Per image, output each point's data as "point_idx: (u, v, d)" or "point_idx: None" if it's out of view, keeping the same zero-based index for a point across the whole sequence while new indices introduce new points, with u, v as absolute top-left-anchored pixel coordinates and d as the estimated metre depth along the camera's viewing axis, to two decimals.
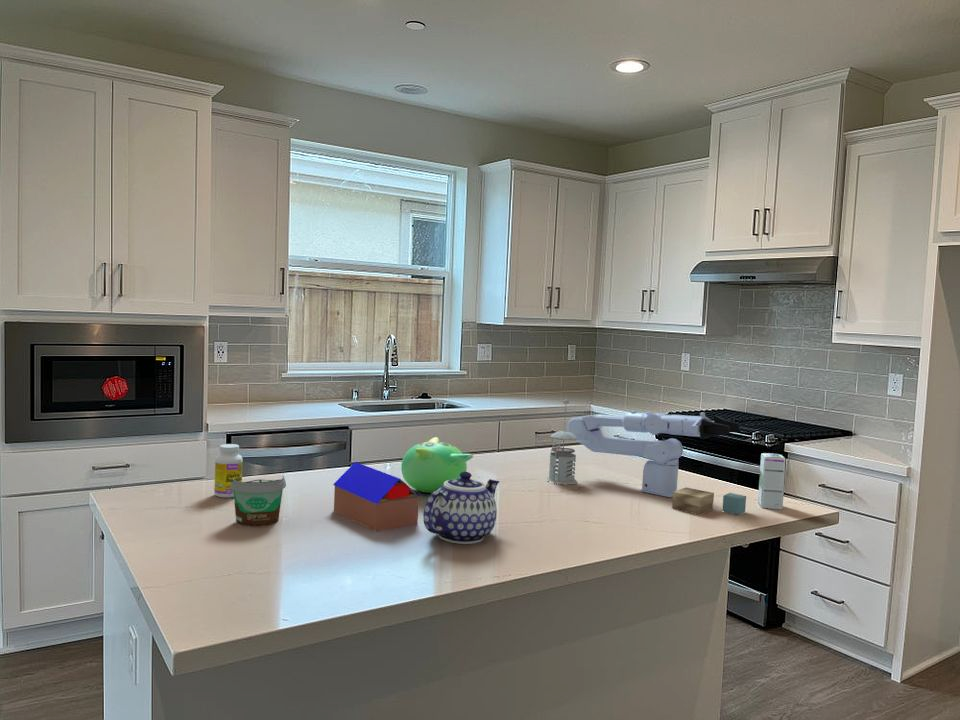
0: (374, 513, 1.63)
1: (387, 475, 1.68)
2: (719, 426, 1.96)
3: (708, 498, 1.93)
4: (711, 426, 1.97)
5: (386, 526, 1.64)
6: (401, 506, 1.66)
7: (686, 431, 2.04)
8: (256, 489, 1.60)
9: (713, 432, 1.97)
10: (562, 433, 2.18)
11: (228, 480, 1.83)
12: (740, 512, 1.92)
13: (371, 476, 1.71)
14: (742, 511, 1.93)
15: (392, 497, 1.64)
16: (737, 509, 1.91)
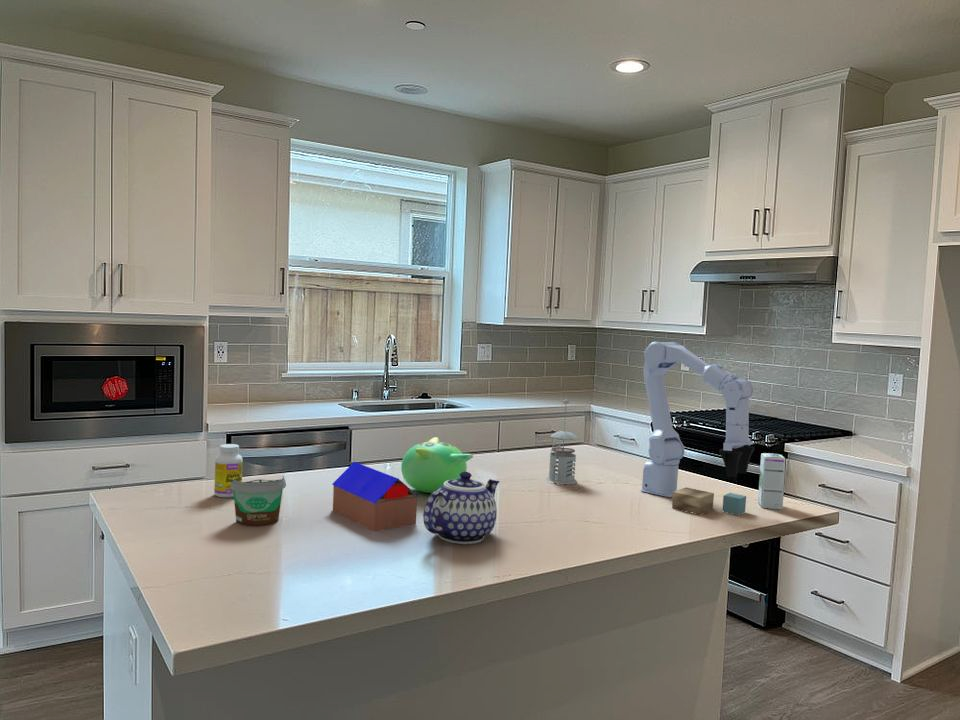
0: (372, 513, 1.63)
1: (385, 475, 1.68)
2: (734, 468, 1.90)
3: (708, 498, 1.93)
4: (733, 459, 1.90)
5: (384, 526, 1.64)
6: (399, 506, 1.66)
7: (728, 428, 1.92)
8: (256, 489, 1.60)
9: (727, 461, 1.91)
10: (562, 433, 2.18)
11: (228, 480, 1.83)
12: (740, 512, 1.92)
13: (370, 476, 1.71)
14: (742, 511, 1.93)
15: (390, 497, 1.64)
16: (737, 509, 1.91)
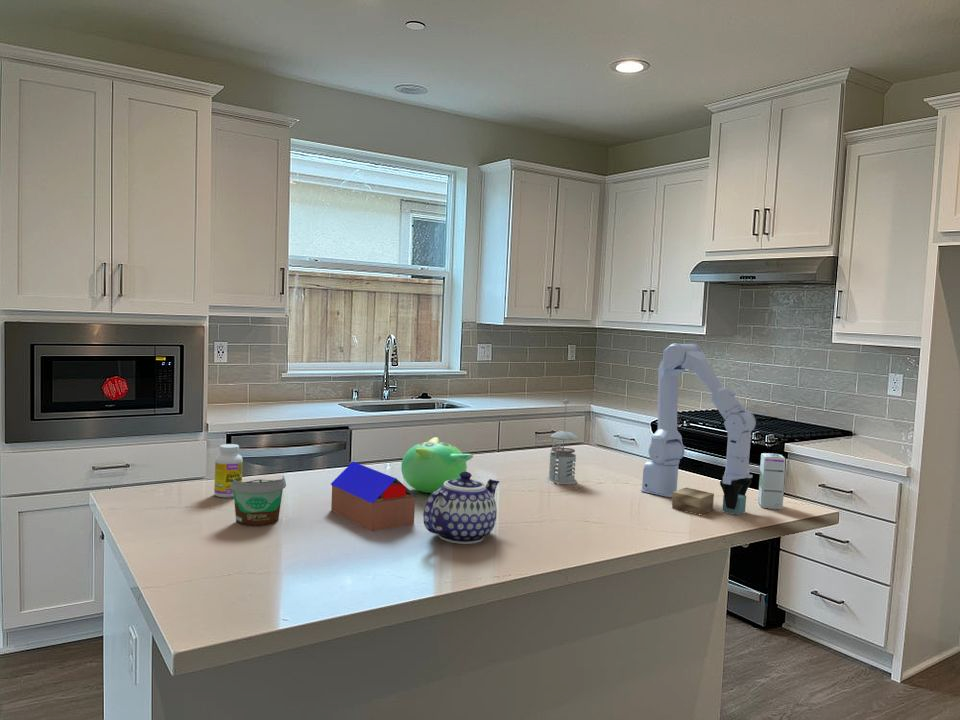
0: (370, 513, 1.63)
1: (384, 475, 1.69)
2: (733, 500, 1.91)
3: (707, 499, 1.93)
4: (734, 492, 1.91)
5: (382, 526, 1.64)
6: (397, 506, 1.66)
7: (729, 460, 1.92)
8: (256, 489, 1.60)
9: (727, 492, 1.92)
10: (562, 433, 2.18)
11: (228, 480, 1.83)
12: (740, 511, 1.92)
13: (368, 476, 1.71)
14: (742, 511, 1.93)
15: (388, 497, 1.64)
16: (737, 508, 1.91)
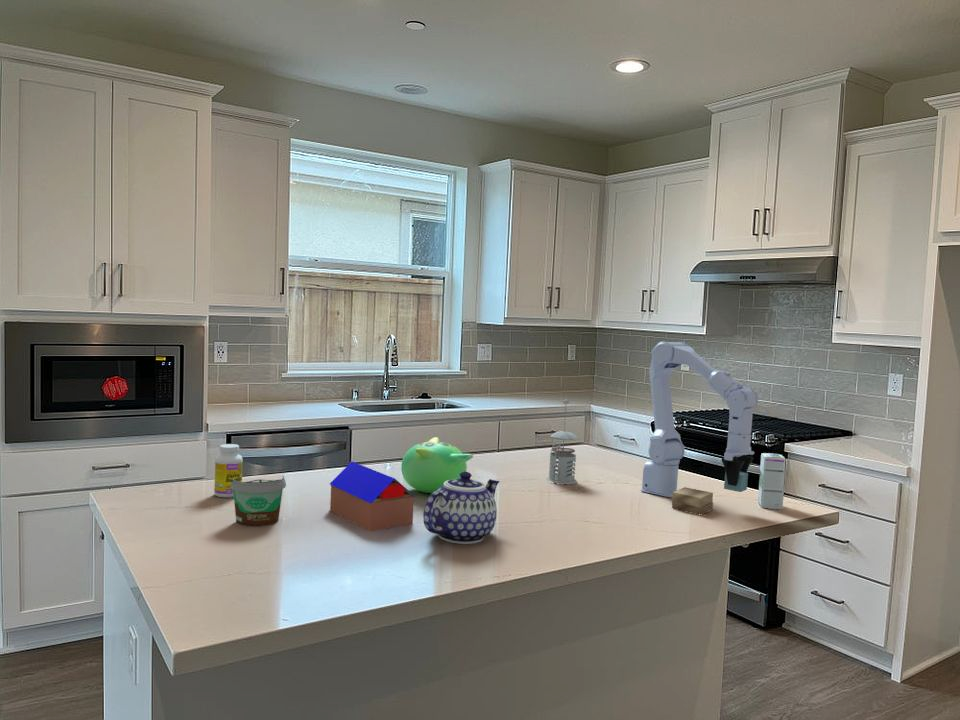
0: (368, 513, 1.63)
1: (382, 475, 1.69)
2: (735, 477, 1.91)
3: (707, 498, 1.93)
4: (735, 468, 1.91)
5: (381, 526, 1.64)
6: (395, 506, 1.66)
7: (730, 437, 1.92)
8: (256, 489, 1.60)
9: (729, 469, 1.92)
10: (562, 433, 2.18)
11: (228, 480, 1.83)
12: (742, 488, 1.91)
13: (367, 476, 1.72)
14: (744, 488, 1.93)
15: (387, 497, 1.64)
16: (739, 485, 1.91)
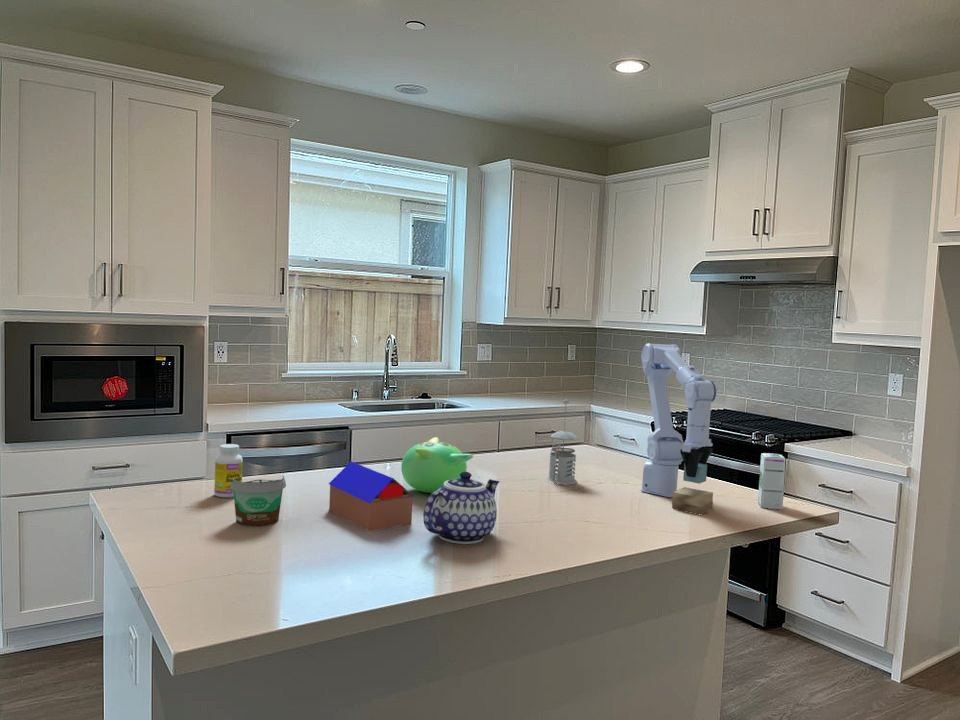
0: (367, 512, 1.63)
1: (381, 475, 1.69)
2: (694, 468, 1.91)
3: (708, 498, 1.93)
4: (694, 460, 1.91)
5: (379, 526, 1.64)
6: (394, 506, 1.66)
7: (689, 429, 1.93)
8: (256, 489, 1.60)
9: (688, 461, 1.92)
10: (562, 433, 2.18)
11: (228, 480, 1.83)
12: (700, 480, 1.92)
13: (365, 475, 1.72)
14: (703, 479, 1.93)
15: (385, 497, 1.64)
16: (697, 477, 1.92)
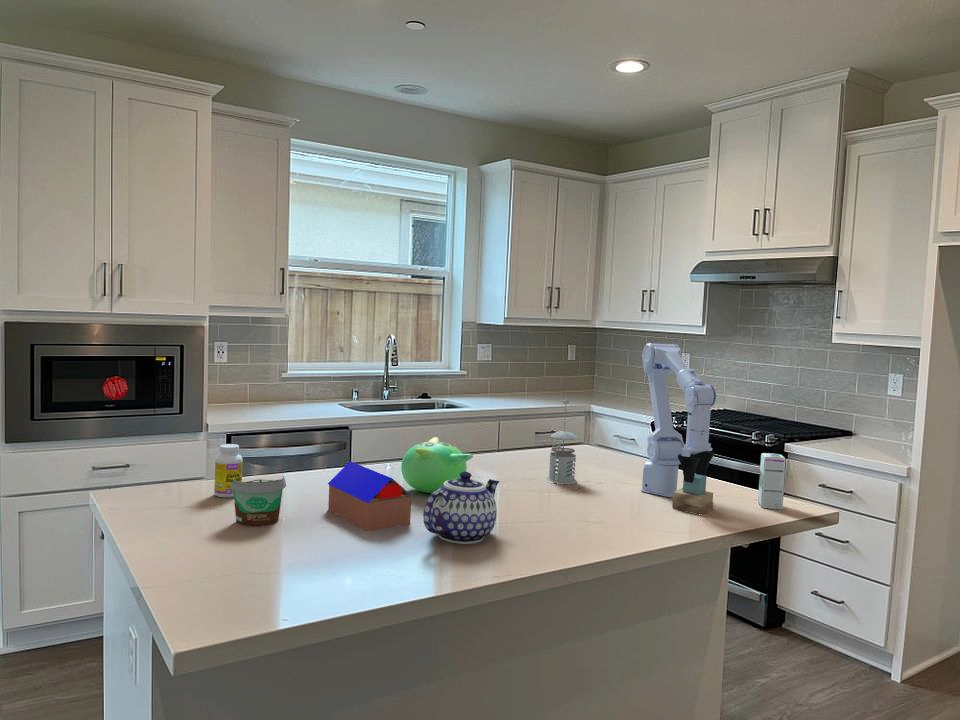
0: (366, 512, 1.63)
1: (380, 474, 1.69)
2: (691, 474, 1.91)
3: (708, 498, 1.93)
4: (691, 465, 1.91)
5: (378, 525, 1.64)
6: (393, 506, 1.66)
7: (689, 433, 1.93)
8: (256, 489, 1.60)
9: (685, 466, 1.92)
10: (562, 433, 2.18)
11: (228, 480, 1.83)
12: (700, 491, 1.92)
13: (364, 475, 1.72)
14: (702, 491, 1.94)
15: (384, 496, 1.64)
16: (697, 488, 1.92)
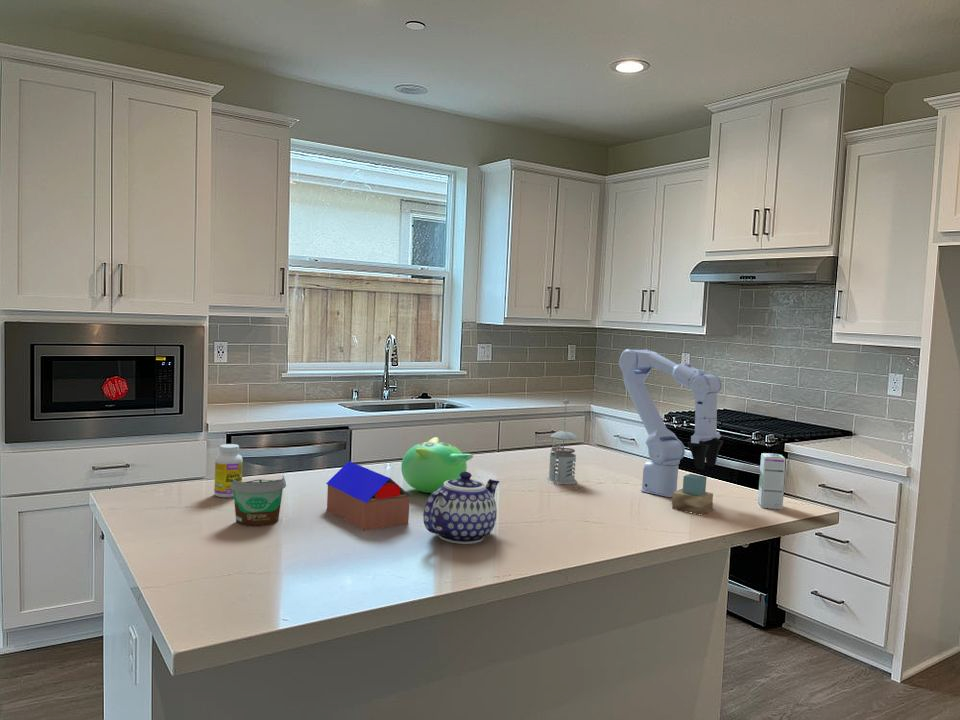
0: (364, 512, 1.63)
1: (378, 474, 1.69)
2: (701, 460, 1.96)
3: (707, 499, 1.93)
4: (701, 452, 1.96)
5: (376, 525, 1.64)
6: (391, 506, 1.66)
7: (697, 421, 1.99)
8: (256, 489, 1.60)
9: (695, 453, 1.97)
10: (562, 433, 2.18)
11: (228, 480, 1.83)
12: (699, 492, 1.92)
13: (363, 475, 1.72)
14: (702, 491, 1.94)
15: (382, 496, 1.65)
16: (696, 489, 1.92)
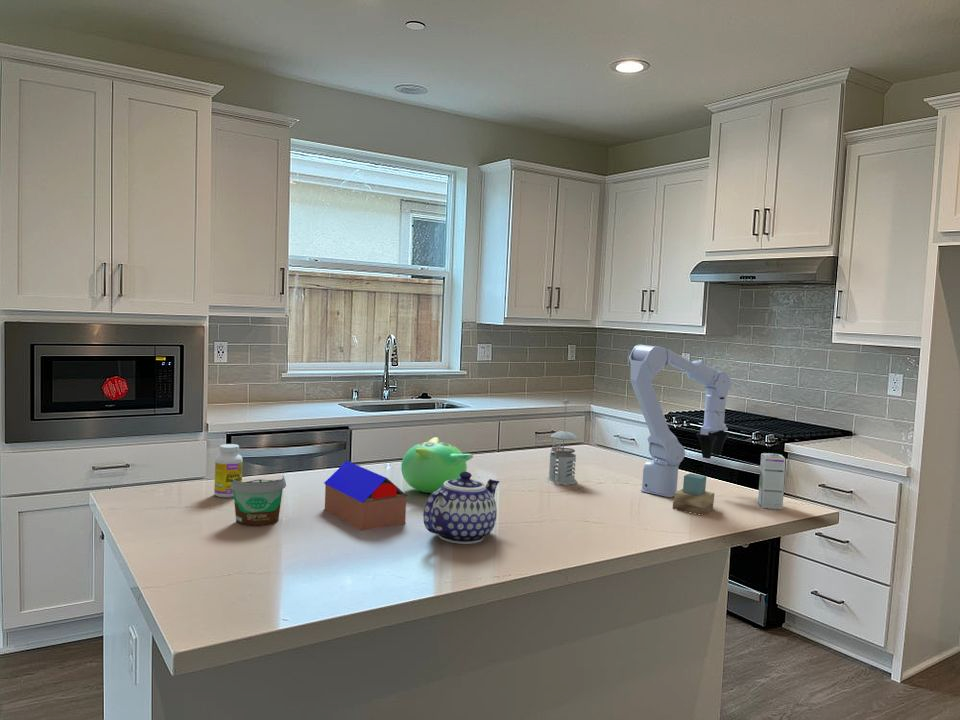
0: (360, 512, 1.63)
1: (375, 474, 1.69)
2: (709, 450, 2.12)
3: (709, 498, 1.93)
4: (709, 443, 2.12)
5: (372, 525, 1.64)
6: (388, 506, 1.66)
7: (706, 414, 2.14)
8: (256, 489, 1.60)
9: (703, 444, 2.13)
10: (562, 433, 2.18)
11: (228, 480, 1.83)
12: (700, 492, 1.92)
13: (360, 475, 1.72)
14: (702, 491, 1.94)
15: (379, 496, 1.65)
16: (697, 488, 1.92)
